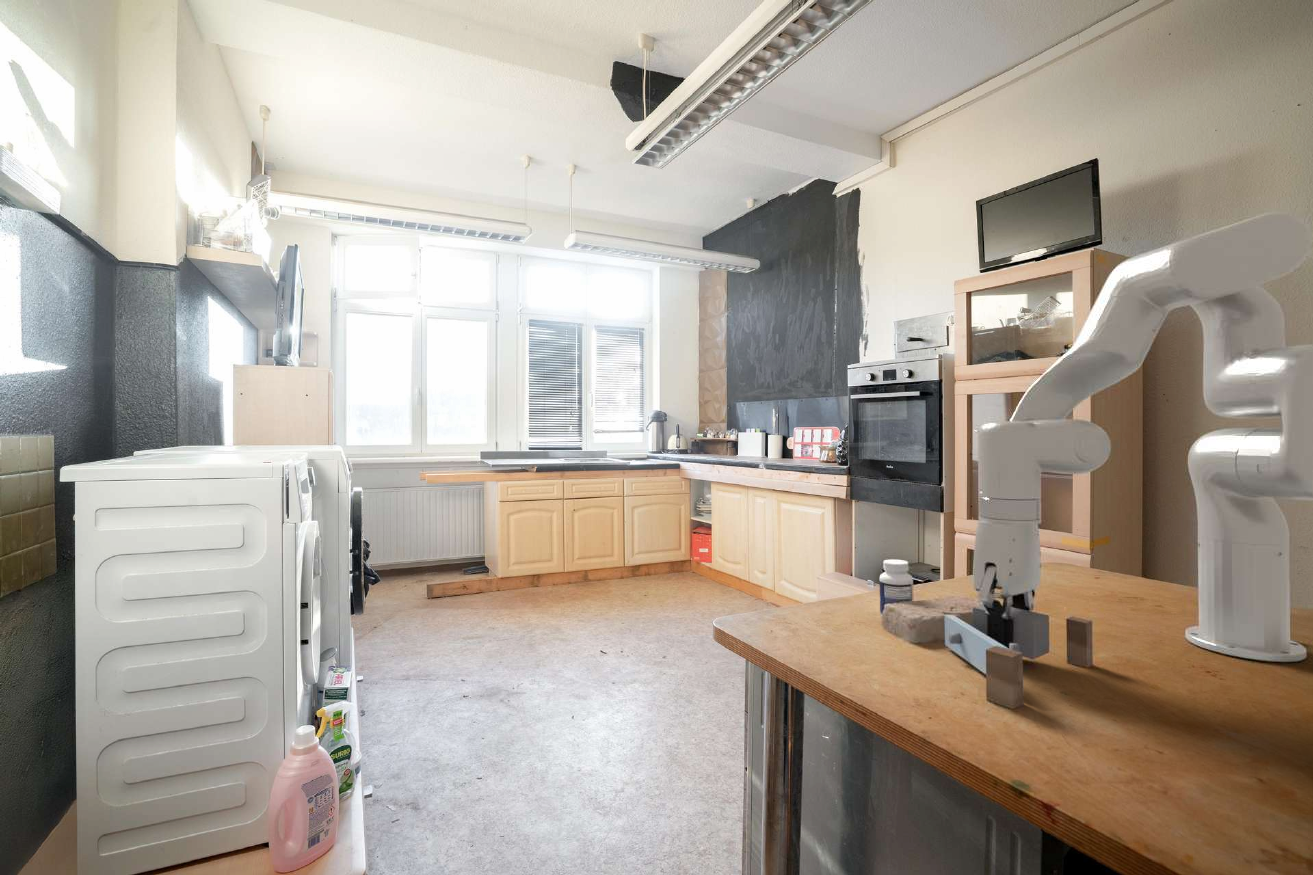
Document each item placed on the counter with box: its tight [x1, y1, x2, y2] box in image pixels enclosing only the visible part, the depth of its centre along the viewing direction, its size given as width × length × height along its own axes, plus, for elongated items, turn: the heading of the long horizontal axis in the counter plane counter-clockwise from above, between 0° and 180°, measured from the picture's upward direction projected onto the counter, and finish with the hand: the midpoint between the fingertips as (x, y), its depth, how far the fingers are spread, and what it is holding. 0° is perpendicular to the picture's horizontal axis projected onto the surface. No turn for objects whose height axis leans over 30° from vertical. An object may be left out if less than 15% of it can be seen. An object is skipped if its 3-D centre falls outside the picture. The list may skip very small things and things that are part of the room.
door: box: [944, 615, 1019, 675], centre depth 81 cm, size 17×2×6 cm, turn 0°
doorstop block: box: [973, 604, 1050, 660], centre depth 85 cm, size 4×8×5 cm, turn 34°
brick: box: [881, 594, 983, 644], centre depth 98 cm, size 17×8×5 cm, turn 105°
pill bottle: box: [879, 559, 914, 618], centre depth 105 cm, size 5×5×10 cm
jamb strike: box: [1065, 616, 1094, 668], centre depth 83 cm, size 2×2×6 cm
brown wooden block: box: [985, 646, 1024, 710], centre depth 72 cm, size 2×3×6 cm
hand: (1010, 640), depth 85 cm, fingers closed on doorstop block, 4 cm apart
